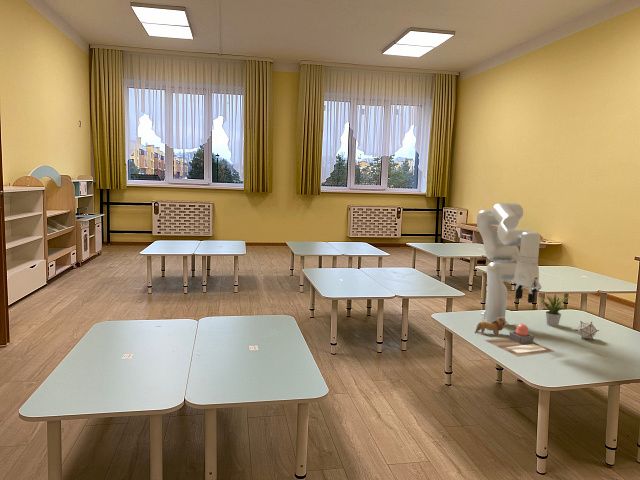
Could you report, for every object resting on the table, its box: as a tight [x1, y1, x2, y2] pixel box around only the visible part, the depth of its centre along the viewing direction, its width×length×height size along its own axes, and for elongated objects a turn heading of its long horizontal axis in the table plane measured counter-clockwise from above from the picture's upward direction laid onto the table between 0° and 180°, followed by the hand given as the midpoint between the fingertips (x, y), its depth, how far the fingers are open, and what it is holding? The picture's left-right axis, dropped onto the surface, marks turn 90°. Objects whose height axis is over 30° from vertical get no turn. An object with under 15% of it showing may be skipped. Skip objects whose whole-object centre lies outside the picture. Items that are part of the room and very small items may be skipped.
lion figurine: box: [474, 317, 507, 336], centre depth 219 cm, size 15×5×9 cm, turn 93°
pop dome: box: [515, 323, 529, 337], centre depth 210 cm, size 5×5×6 cm
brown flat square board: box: [484, 336, 556, 357], centre depth 204 cm, size 20×20×1 cm
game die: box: [574, 320, 600, 341], centre depth 219 cm, size 9×8×10 cm
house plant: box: [539, 293, 570, 327], centre depth 239 cm, size 14×14×16 cm
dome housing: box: [508, 330, 535, 344], centre depth 211 cm, size 7×7×3 cm
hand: (524, 300), depth 208 cm, fingers open, 6 cm apart
